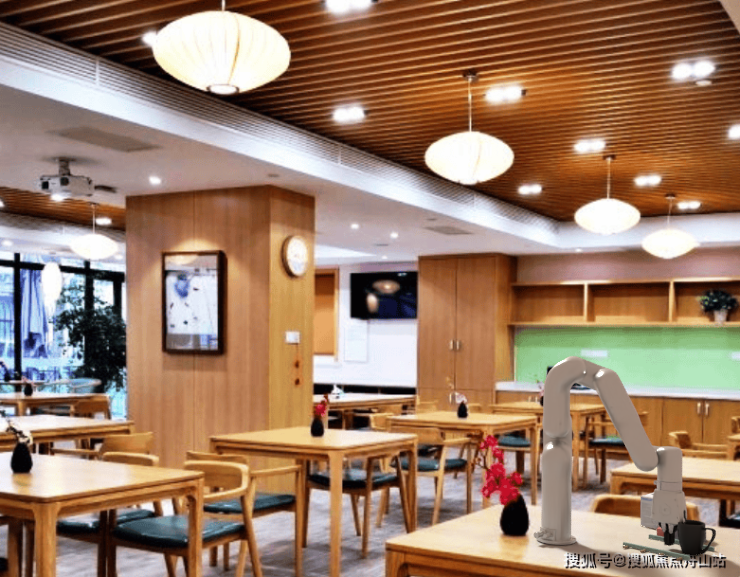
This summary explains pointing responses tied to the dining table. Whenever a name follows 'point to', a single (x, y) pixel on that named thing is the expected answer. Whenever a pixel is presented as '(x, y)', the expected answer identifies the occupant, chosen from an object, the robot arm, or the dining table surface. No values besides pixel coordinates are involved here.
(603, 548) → the dining table surface
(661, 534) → the die
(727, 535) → the dining table surface
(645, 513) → the light bulb box
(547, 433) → the robot arm
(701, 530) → the mug
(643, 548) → the track
